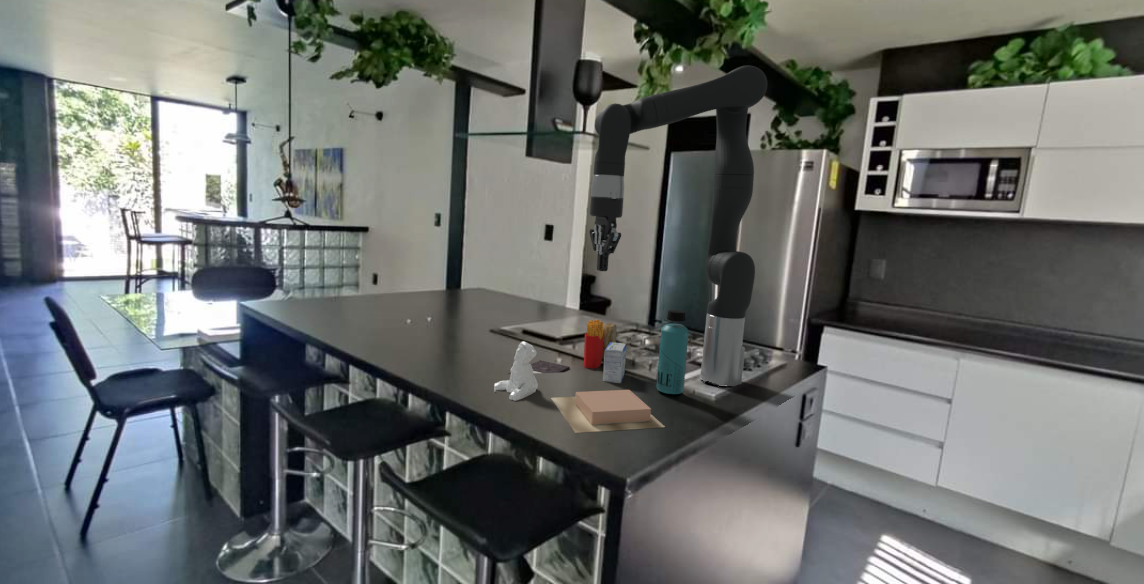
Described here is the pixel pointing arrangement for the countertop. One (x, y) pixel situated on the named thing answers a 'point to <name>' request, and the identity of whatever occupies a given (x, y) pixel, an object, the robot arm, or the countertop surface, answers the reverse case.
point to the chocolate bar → (548, 367)
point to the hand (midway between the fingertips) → (602, 270)
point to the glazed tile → (612, 407)
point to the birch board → (583, 424)
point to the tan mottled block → (608, 336)
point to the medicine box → (614, 362)
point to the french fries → (593, 344)
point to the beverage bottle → (672, 355)
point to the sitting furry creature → (520, 374)
